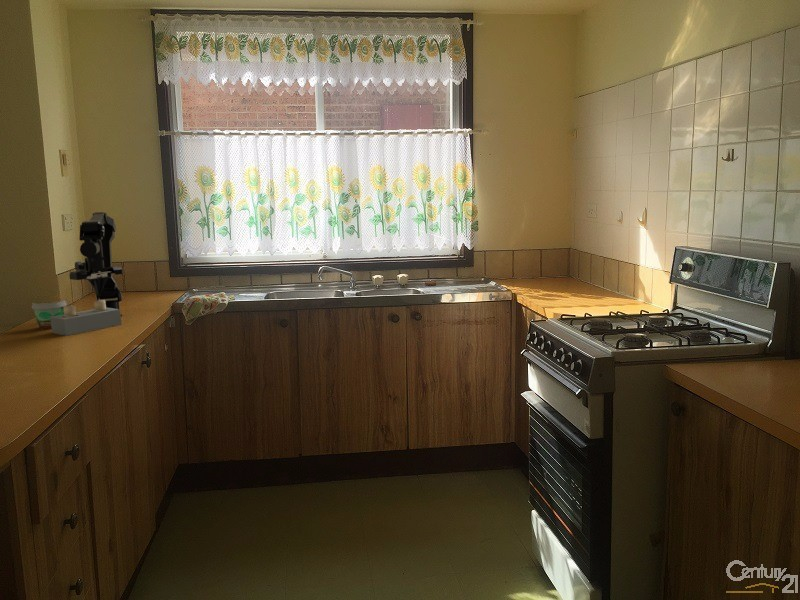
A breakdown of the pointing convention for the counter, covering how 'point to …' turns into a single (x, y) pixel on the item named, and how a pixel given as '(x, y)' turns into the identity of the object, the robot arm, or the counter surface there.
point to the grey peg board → (85, 321)
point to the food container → (47, 313)
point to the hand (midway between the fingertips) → (99, 295)
